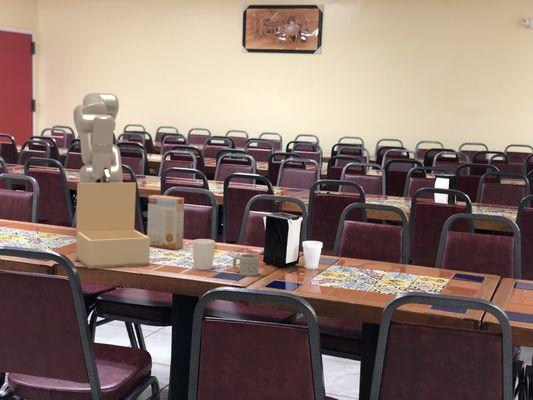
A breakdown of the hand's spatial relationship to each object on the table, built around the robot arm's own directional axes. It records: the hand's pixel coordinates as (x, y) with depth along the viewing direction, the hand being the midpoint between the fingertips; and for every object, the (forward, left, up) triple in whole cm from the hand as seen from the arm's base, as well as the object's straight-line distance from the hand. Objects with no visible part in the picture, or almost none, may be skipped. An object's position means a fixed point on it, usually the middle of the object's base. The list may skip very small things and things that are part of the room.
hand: (101, 194), depth 291 cm
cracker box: (-5, +28, -23) cm, 37 cm away
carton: (+16, 0, -23) cm, 28 cm away
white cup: (+35, +28, -23) cm, 50 cm away
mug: (+47, +39, -23) cm, 65 cm away
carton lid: (+7, 0, -4) cm, 8 cm away
